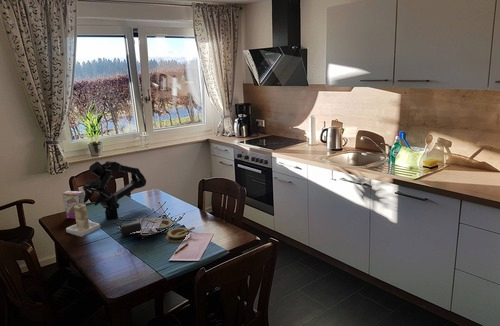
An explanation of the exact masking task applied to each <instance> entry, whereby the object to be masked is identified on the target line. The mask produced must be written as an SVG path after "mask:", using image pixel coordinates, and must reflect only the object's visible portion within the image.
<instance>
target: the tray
mask: <svg viewBox="0 0 500 326" xmlns="http://www.w3.org/2000/svg"><path fill="white" fill-rule="evenodd" d="M88 222H89V228H88V229H86V230H84V231H79V230H77V224H72V225H70V226H68V227H66V228H65V231H66V233H67V234H71V235H74V236H77V237H79V238H82V237H84V236H86V235H90V233H93V232H94V231H95V232H96V231H97V230H99V229H101V223H99V222H98V223H97V222H95V221H90V220H88Z"/></svg>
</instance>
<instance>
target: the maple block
mask: <svg viewBox="0 0 500 326" xmlns="http://www.w3.org/2000/svg"><path fill="white" fill-rule="evenodd" d="M74 212H75V218H76V219H75V223H76V224H77V230H79V231H84V230H86V229H88V228H89V222H88V221H89V216H88V210H87V205H86V204H85V205H83V204H79V205H77V206H74Z"/></svg>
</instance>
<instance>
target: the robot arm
mask: <svg viewBox="0 0 500 326" xmlns="http://www.w3.org/2000/svg"><path fill="white" fill-rule="evenodd" d="M88 169H89V172H91V173H92V174H93V175H95V176H97V177H98V178H94V179H86V182H85V184H84V185H83V186H82V190H83V192H84V203H85V204H86V203H87V202H88V201H89V200H90V199H91V197H93V195H94V194H95V193H97V198H96V199H95V201H94V204H93V206H97V205H99V204H100V206H102V208H104V209H105V210H104V214H105V219H106V221H110V220H115V219H119V215H118V209H119V208H120V203H118V201H119V200H120V199H122V198H124V197H125V196H127V195H128V194H130V193H131V192H133V191H134V190H136V189H137V190H138V189H140V188H144V187H145V186H146V185H147V179H146V178H145V176H144V174H143V173H142V171H140V169H139V168H138V167H132V166H127V165H123V164H121V163H120V162H117V161H113V160H106V162H105V163H102V164H101V162H99V161H98V160H96V161H95V162H93V163H92V164H91V165H90V166H89V168H88ZM114 172H123V173H128V174H130V179H131V180H130V183H128V184H126V185H125V186H124V187H122V188H120V189H118V190H117V191H115V192H114V193H112V192H111V190H108V189H107V188H106V187H108V186H109V180H110V179H111V178H115V173H114Z"/></svg>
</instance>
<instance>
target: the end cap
mask: <svg viewBox="0 0 500 326" xmlns="http://www.w3.org/2000/svg"><path fill="white" fill-rule="evenodd" d="M119 228H120V233H121V236H122V238H126V237H129V235H130V233H132V232H136V231H140V230H141V231H142V225H141V222H140V221H138V220H131V221H130V223H126V222H122V223H120V224H119ZM130 236H131V235H130Z"/></svg>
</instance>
